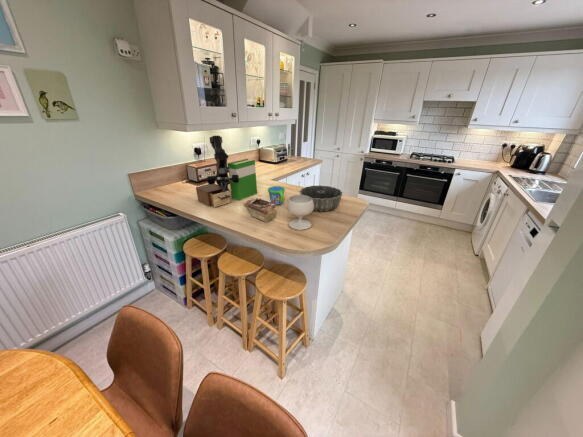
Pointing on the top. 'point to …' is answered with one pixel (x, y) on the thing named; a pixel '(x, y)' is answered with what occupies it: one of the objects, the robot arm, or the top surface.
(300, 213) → the chalice
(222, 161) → the robot arm
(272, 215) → the lined basket
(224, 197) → the drawer
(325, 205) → the bundt pan
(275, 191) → the snack cup
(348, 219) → the top surface
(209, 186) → the cabinet
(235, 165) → the green cereal box
